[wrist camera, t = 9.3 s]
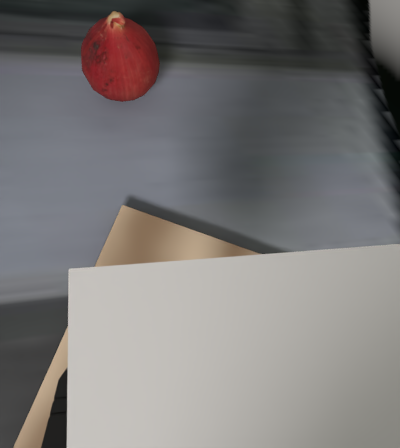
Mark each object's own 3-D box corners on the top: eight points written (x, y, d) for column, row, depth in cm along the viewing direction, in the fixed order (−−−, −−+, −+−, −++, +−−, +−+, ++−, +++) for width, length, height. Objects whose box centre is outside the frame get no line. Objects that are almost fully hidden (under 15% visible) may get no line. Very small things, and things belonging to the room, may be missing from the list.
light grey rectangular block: (138, 501, 13) (61, 877, 4) (131, 317, 15) (69, 269, 6) (312, 477, 14) (608, 750, 5) (284, 303, 16) (452, 240, 6)
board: (11, 462, 24) (4, 467, 23) (123, 209, 29) (122, 204, 28) (284, 567, 23) (289, 577, 22) (345, 288, 29) (351, 286, 28)
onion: (112, 132, 31) (93, 63, 24) (79, 81, 32) (51, 0, 25) (172, 102, 33) (172, 28, 25) (138, 55, 34) (129, -29, 26)
